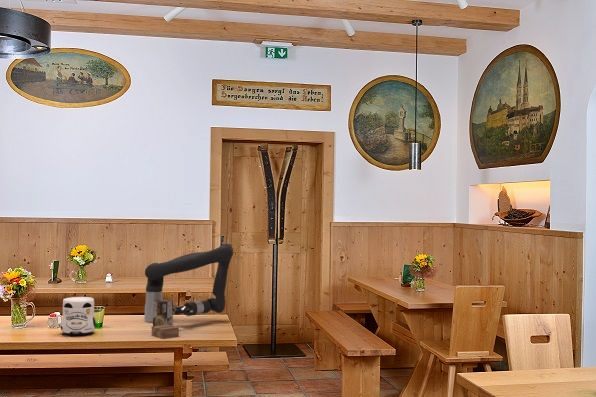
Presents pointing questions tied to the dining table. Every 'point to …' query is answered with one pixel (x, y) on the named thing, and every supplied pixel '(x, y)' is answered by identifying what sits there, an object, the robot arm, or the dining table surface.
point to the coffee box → (162, 312)
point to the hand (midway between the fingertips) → (170, 311)
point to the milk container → (78, 316)
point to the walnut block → (165, 331)
